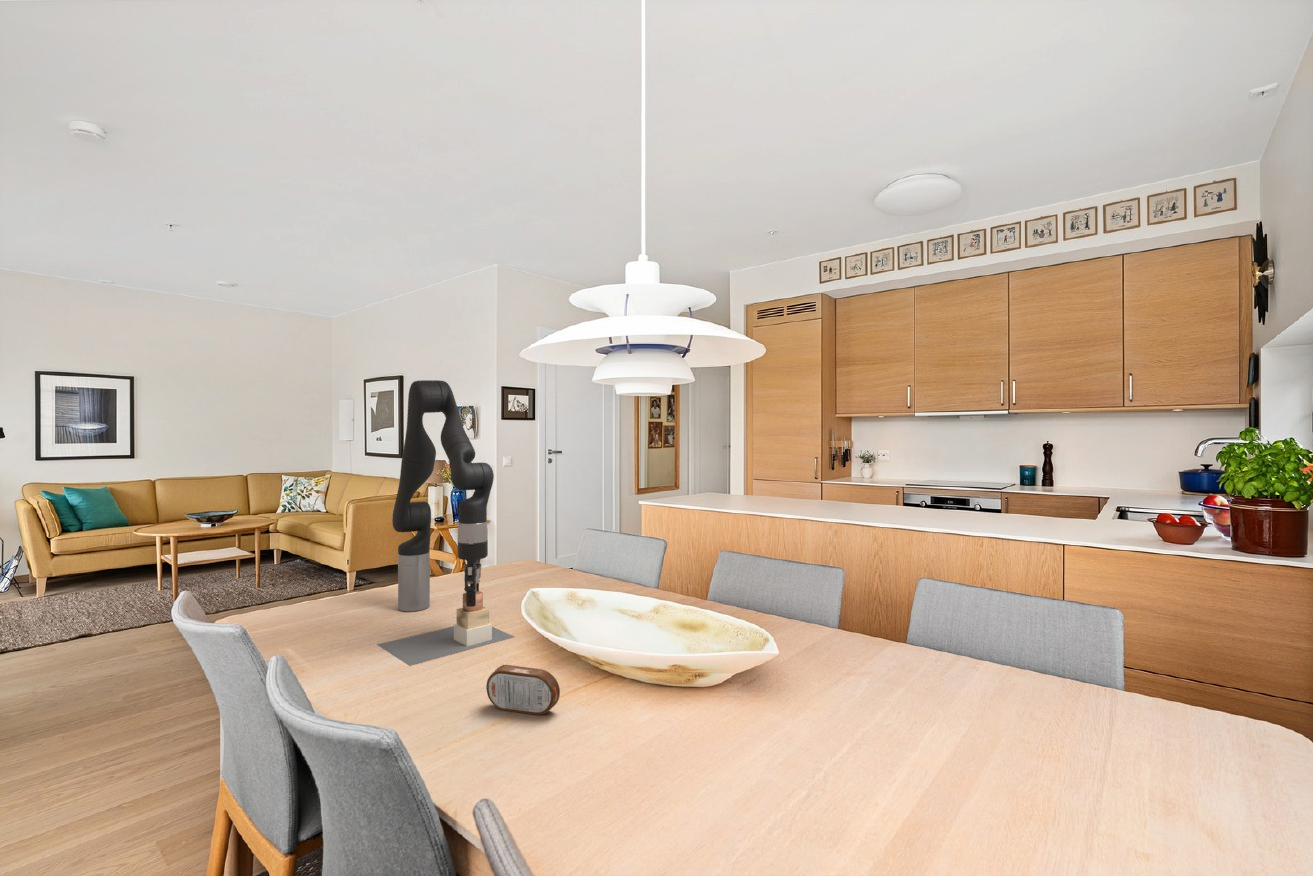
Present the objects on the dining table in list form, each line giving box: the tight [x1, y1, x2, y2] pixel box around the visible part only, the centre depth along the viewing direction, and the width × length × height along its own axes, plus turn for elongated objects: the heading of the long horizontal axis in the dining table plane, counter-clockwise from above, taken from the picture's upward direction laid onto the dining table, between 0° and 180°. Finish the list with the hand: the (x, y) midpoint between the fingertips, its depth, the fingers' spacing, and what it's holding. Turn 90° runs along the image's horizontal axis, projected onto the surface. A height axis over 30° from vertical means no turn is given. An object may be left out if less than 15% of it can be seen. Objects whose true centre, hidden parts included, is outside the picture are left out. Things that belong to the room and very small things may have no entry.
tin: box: [486, 664, 561, 716], centre depth 118 cm, size 15×3×8 cm, turn 74°
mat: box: [376, 625, 516, 667], centre depth 155 cm, size 20×28×1 cm
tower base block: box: [453, 622, 493, 646], centre depth 156 cm, size 7×7×4 cm
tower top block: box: [456, 606, 490, 629], centre depth 156 cm, size 6×6×4 cm
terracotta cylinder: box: [462, 590, 484, 612], centre depth 156 cm, size 5×5×4 cm
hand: (472, 601), depth 156 cm, fingers open, 8 cm apart
